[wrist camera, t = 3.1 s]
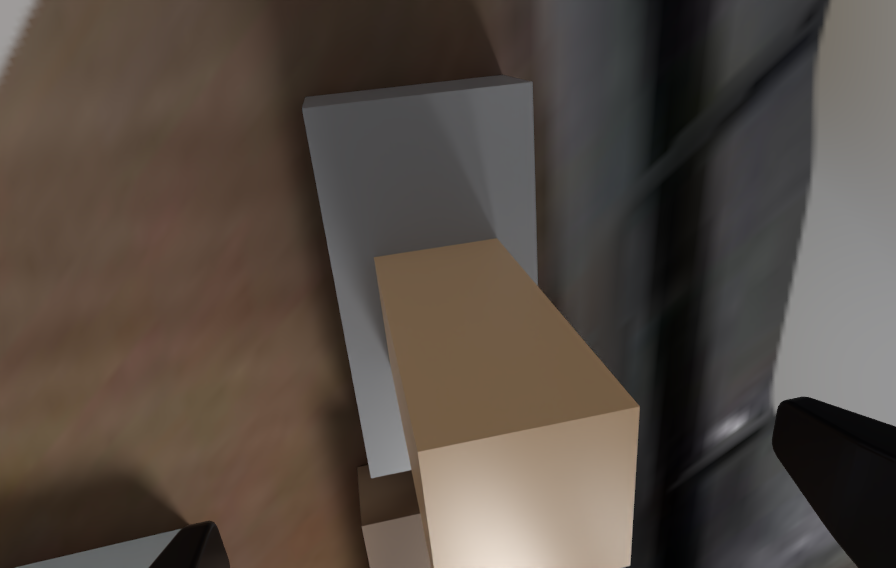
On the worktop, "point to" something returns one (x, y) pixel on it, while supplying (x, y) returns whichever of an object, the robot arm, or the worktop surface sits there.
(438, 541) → the tan block grey base
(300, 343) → the worktop surface
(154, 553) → the tile
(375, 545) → the stop bar
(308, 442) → the worktop surface
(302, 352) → the worktop surface
